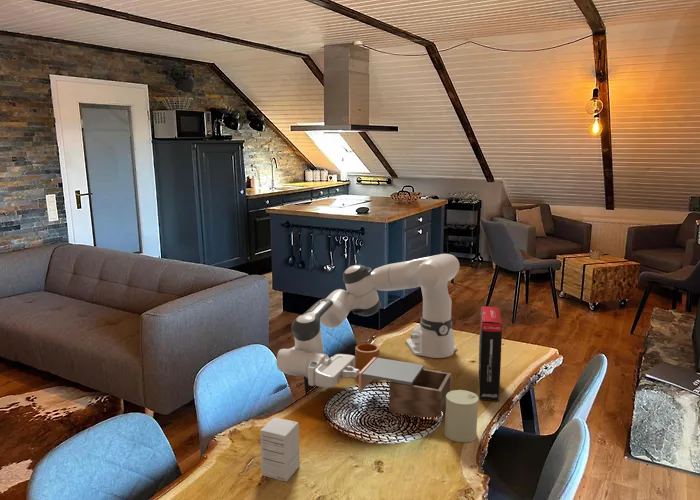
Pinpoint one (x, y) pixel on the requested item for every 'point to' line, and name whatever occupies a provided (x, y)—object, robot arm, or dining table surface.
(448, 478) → the dining table surface
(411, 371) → the lid
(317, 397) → the dining table surface
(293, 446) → the supplement box
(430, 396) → the walnut box
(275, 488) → the dining table surface
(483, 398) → the graphics card box
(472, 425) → the can
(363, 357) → the mug
